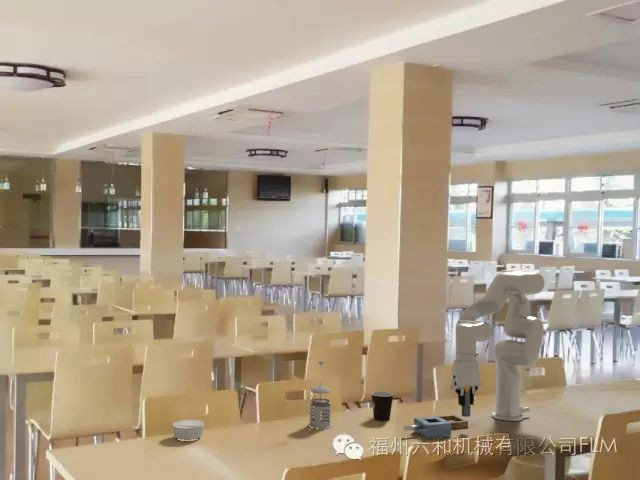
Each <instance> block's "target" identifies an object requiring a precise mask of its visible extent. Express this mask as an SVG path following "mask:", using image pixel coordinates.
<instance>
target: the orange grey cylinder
mask: <svg viewBox="0 0 640 480" xmlns="http://www.w3.org/2000/svg"><path fill="white" fill-rule="evenodd" d="M463 395H464V396H465V406H461V416H462V417H464V418H466V417H467V418H469V417H471V404H470V387H464V393H463Z"/></svg>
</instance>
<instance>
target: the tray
mask: <svg viewBox="0 0 640 480" xmlns="http://www.w3.org/2000/svg"><path fill="white" fill-rule="evenodd" d="M438 417H440V418H442V419H444V420H446V421H448V422H450V423H451V430H453V429H454V428H455V429H464V428H468V427H469V421H468V420H466V419H464V418H463V417H460V416H457V415H455V414H449V415H438Z"/></svg>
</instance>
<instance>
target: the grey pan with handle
mask: <svg viewBox="0 0 640 480" xmlns="http://www.w3.org/2000/svg"><path fill="white" fill-rule="evenodd" d="M438 416H439V415H438ZM438 416H437V415H435V416H425V417H414V418H413V424H412V425H405V426H403V430H404V431H406V432H407V431H413V432H415V433H416V434H417V435H419V436H421V437H423V438H425V439H427V440H428V439H429V440H430V439H438V438H437V437H441V438H449V437H450V436H451V437H452V429H451V423H450V422H448V421H446V420H444V419H442V418H440V417H438ZM451 437H450V438H451Z"/></svg>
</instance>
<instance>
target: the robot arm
mask: <svg viewBox="0 0 640 480" xmlns="http://www.w3.org/2000/svg"><path fill="white" fill-rule="evenodd" d="M544 287H545V279H544V277H543V275H541V273H538V272H529V271H527V272H525V271H508V272H499V273H497V274H496V275H495V277H494V278H493V280H492V281H491V283H490V285H489V287H488V288H487V290H486V291H485V294H484V295H483V297H482V298H480V299H478V300H477V301H475V302H474V303H472V304H470V305H468V306H467V307H466V308H465V309H464V310H463V311H462V313H461V315H460V317H459V318H458V320H457V322H456V325H455V359H454V360H453V362H452V367H451V376H450V377H451V378H450V379H451V380H450V381H451V382H450V383H451V384H450V386H449V389H450V390H452V391H454V392H455V393H456V394H457V397H458V398H457V400H458V405H459V406H461V407H462V406H465V396H464V395H463V393H464V387H470V406H474V402H475V395H476V392H477V391H478V389H480V387H482V385H483V383H482V382H481V379H480V367H479V362H478V359H477V357H478V356H479V352H478V351H476V350H477V343H479V342H482V343H483V342H487V341H489V340H490V339H491V338H492V336H493V334H494V328H493V326H492V324H490V323H488V322H486V321H481V320H478V319H479V318H483V317H485V316H488V315H489V316H490V315H493V314H495V313H499V312H501V311H502V309H503V308H504V306H505V304H506V302H507V300H508V307H507V312H506V316H505V321H504V325H503V326H504V327H503V332H504V334H505V336H507V337H509V338H512V339H519V340H520V339H521V340H525V341H519V340H511V339H502V340H499V341H497V342H496V343H495V346H494V357H495V365H496V380H495V381H496V383H495V411H492V412H491V417H492V418H494V419H496V420H499V421H505V422H518V421H523V420H524V417H525V416H524V413H529V412H530V411H531V410H530V407H529V406H525V407H523V406H521V381H522V380H521V379H522V378H521V373H520V370H519V367H518V366H521V367H528V368H531V367H534V366H535V365H536V364H537V362H538V360H539V355H540V352H541V346H542V342H543V337H544V330H545V329H544V323H543V321H542V320H541V319H540V318H539V317H536V316H530V315H529V314H530V308H531V304H530V301H529V299H528V297H527V296H531V295H538V294H540V293H542V291H543V290H544Z"/></svg>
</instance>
